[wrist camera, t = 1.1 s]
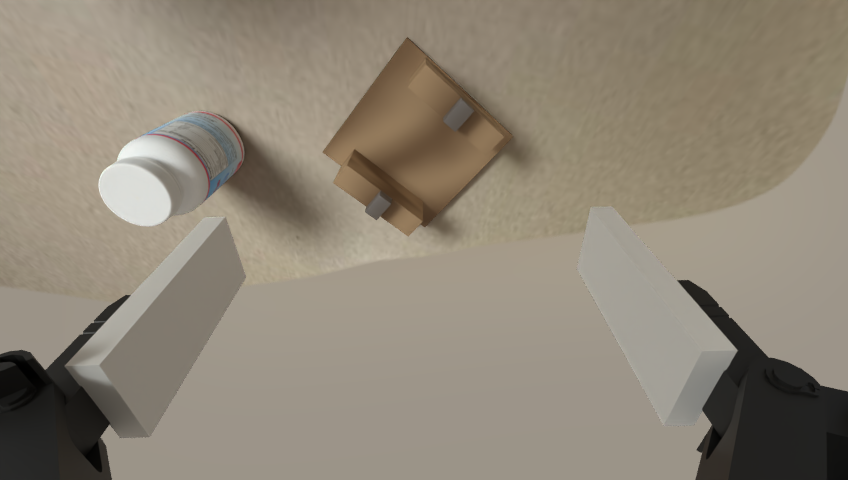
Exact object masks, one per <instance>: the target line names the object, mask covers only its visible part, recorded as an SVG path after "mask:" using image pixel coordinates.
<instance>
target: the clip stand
mask: <svg viewBox="0 0 848 480" xmlns="http://www.w3.org/2000/svg"><path fill="white" fill-rule="evenodd" d="M512 138H513V136H512V134H510V133H509V132H508V131H507V130H506V129H505V128H504V127H503V126H502V125H501V124H500V123H499V122H498V121H497V120H495V119H494V118H493V117H492V116H491V115H490V114H489V113H488V112H487V111H486V110H485V109H484V108H483V107H481V106H480V105H479V104H478V103H477V102H476V101H475V100H474V99H473V98H472V97H471V96H470V95H469V94H468V93H466V92H465V91H464V90H463V89H462V88H461V87H460V86H459V85H458V84H457V83H456V82H455V81H454V80H453V79H451V78H450V77H449V76H448V75H447V74H446V73H445V72H444V71H443V70H442V69H441V68H440V67H439V66H437V65H436V64H435V63H434V62H433V61H432V60H431V59H430V58H429V57H428V56H427V55H426V54H425V53H424V52H422V51H421V50H420V49H419V48H418V47H417V46H416V45H415V44H414V43H413V42H412V41H411V40H410V39H409V38H406V39H405V41H404V42H403V43H402V45H401V46H400V47H399V49H398V50H397V52H396V53H395V54H394V56H393V57H392V58H391V60H390V61H389V62H388V64H387V65H386V66H385V68H384V69H383V71H382V72H381V73H380V75H379V76H378V77H377V79H376V80H375V81H374V83H373V84H372V86H371V87H370V88H369V90H368V91H367V92H366V94H365V95H364V96H363V98H362V99H361V100H360V102H359V103H358V105H357V106H356V107H355V109H354V110H353V111H352V113H351V114H350V115H349V117H348V118H347V120H346V121H345V122H344V124H343V125H342V126H341V128H340V129H339V130H338V132H337V133H336V134H335V136H334V137H333V139H332V140H331V141H330V143H329V144H328V145H327V147H326V148H325V149H324V151H323V153H324V154H326V155H327V156H328V157H330V158H331V159H332V160H334V161H335V162H337V163H338V164H339V165H341V168H340V170H339V172H338V174H337V176H336V178H335V180H334V182H333V183H334V184H336V185H337V186H338V187H340V188H341V189H343V190H344V191H345V192H347V193H348V194H350V195H351V196H352V197H354V198H355V199H357V200H358V201H359V202H361V203H362V204H364V205H365V206H366V211H365V212H366V213H367V214H369V215H370V216H371V217H373V218H374V219H376V220H377V219H378V218H379V217H382V218H383V219H385V220H386V221H387V222H389V223H390V224H392V225H393V226H395V227H396V228H397V229H399V230H400V231H402V232H403V233H404V234H406V235H407V236H409V235H410V234H411V233H412V232H413V231H414V230H415V229H416V228H417V227H418V226H419V225H420V224H421V225H422V226H423V227H426V226H427V225H428V224H429V222H430V221H431V220H432V219H433V218H434V217H435V216H436V215H437V214H438V213H439V212H440V211H441V210H442V209H443V208H444V207H445V206H446V205H447V204H448V203H449V202H450V201H451V200H452V199H453V198H454V197H455V196H456V195H457V194H458V193H459V192H460V191H461V190H462V189H463V188H464V187H465V186H466V185H467V184H468V183H469V182H470V181H471V180H472V179H473V177H474V176H475V175H476V174H477V173H478V172H479V171H480V170H481V169H482V168H483V167H484V166H485V165H486V164H487V163H488V162H489V161H490V160H491V159H492V158H493V157H494V156H495V155H496V154H497V153H498V152H499V151H500V150H501V149H502V148H503V147H504V146H505V145H506V144H507V143H508V142H509V141H510V140H511V139H512Z"/></svg>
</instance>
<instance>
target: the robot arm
mask: <svg viewBox="0 0 848 480" xmlns="http://www.w3.org/2000/svg"><path fill="white" fill-rule="evenodd" d="M577 270H578V272H579V274H580V276H581V278H582V279H583V281H584V283H585V285H586V287H587V288H588V290H589V292H590V294H591V296H592V297H593V299H594V301H595V303H596V305H597V306H598V308H599V310H600V312H601V314H602V315H603V317H604V319H605V321H606V323H607V325H608V326H609V328H610V330H611V332H612V334H613V335H614V337H615V339H616V341H617V343H618V344H619V346H620V348H621V350H622V352H623V354H624V355H625V357H626V359H627V361H628V362H629V364H630V366H631V368H632V370H633V372H634V373H635V375H636V377H637V379H638V381H639V382H640V384H641V386H642V388H643V389H644V392H645V393H646V395H647V397H648V399H649V401H650V402H651V404H652V406H653V407H654V410H655V411H656V413H657V415H658V417H659V418H660V420H661V422H662V424H663V426H688V425H689V426H691V425H695V423H696V421H697V419H698V418H699V416H700V414H701V412H702V411H703V412H704V413H705V415H706V416H707V418H708V419H709V421H710V422H711V424H712V426H711V428H710V429H709V431H708V433H707V434H706V436H705V437H704V439H703V441H702V442H701V444H700V445H699V447H698V448H697V450H698V451H699V452H702V456H701V460H700V464H699V468H698V473H697V476H696V480H848V392H847V391H842V390H838V389H834V388H829V387H824V386H820V384H819V383H818V382H817V381H816V380H815V379H814V378H813V377H812V376H810V375H809V374H808V373H806V372H805V371H803V370H802V369H800V368H798V367H796V366H794V365H792V364H790V363H788V362H785V361H781V360H778V359H775V358H768V357H767V356H766V354H765V353H764V352H763V351H762V350H761V349H760V348H759V347H758V346H757V345H756V344H755V343H754V342H753V340H752V339H751V338H750V337H749V336H748V335H747V334H746V333H745V332H744V331H743V330H742V329H741V328H740V327H739V326H738V325H737V323H736V322H735V321H734V320H733V319H732V318H729V315H728V314H727V313H726V312H725V311H724V310H723V309H722V307H719V305H718V303H717V302H716V301H715V300H714V299H713V298H712V297H711V296H710V295H709V294H708V293H707V291H705V290H703V289H702V288H700V287H698V286H697V285H696V284H694V283H692V282H691V281H689V280H676V279H675V278H674V277H673V276H672V274H671V273H670V272H669V271H668V270H667V269H666V268H665V266H663V264H662V263H661V262H660V261H659V259H658V258H657V257H656V256H655V255H654V254H653V253H652V252H651V250H650V249H649V248H648V247H647V246H646V245H645V243H644V242H643V241H642V240H641V239H640V238H639V237H638V235H637V234H636V233H635V232H634V231H633V230H632V229H631V227H630V226H629V225H628V224H627V223H626V222H625V220H624V219H623V218H622V217H621V216H620V215H619V214H618V212H617V211H616V210H615V209H614V208H613V207H612V206H610V207H591V208H590V212H589V217H588V221H587V226H586V230H585V234H584V239H583V243H582V248H581V252H580V257H579V261H578V266H577ZM245 278H246V275H245V272H244V269H243V266H242V263H241V261H240V258H239V255H238V252H237V249H236V246H235V243H234V240H233V237H232V234H231V231H230V228H229V225H228V222H227V220H226V217H204V218H203V219H202V220H201V221H200V222H199V223H198V225H197V226H196V227H195V228H194V229H193V230H192V231H191V232H190V233H189V234H188V235H187V236H186V237H185V238H184V239H183V240H182V242H181V243H180V244H179V245H178V246H177V247H176V248H175V249H174V250H173V251H172V252H171V253H170V254H169V255H168V256H167V257H166V259H165V260H164V261H163V262H162V263H161V264H160V265H159V266H158V267H157V268H156V269H155V270H154V271H153V272H152V273H151V275H150V276H149V277H148V278H147V279H146V280H145V281H144V282H143V283H142V284H141V285H140V286H139V287H138V288H137V289H136V290H135V292H134V293H133V294H132V295H125V296H124V297H122V298H120V299H119V300H117V301H116V302H114V303H113V304H111V305H110V306H108V307H107V308H106V309H105V310H104V311H103V312H102V313H101V314H100V315H99V316H98V317H97V318H96V319H95V320H94V323H91V324H90V325H89V326H88V327H87V328H86V329H85V330H84V331H83V335H79V336H78V337H77V338H76V339H75V340H74V342H73V343H72V344H71V345H70V346H69V347H68V348H67V349H66V350H65V351H64V352H63V353H62V354H61V355H60V356H59V357H58V358H57V359H56V360H55V361H54V362H53V363H52V364H51V365H50V366H49V367H48V368H47V369H46V370H44V369H43V367H42V366H41V365H40V364H39V363H38V361H37V360H36V359H35V358H34V356H33V355H32V354H31V353H30V352H27V351H23V350H19V351H10V352H6V353H3V354H0V480H112V478H111V472H110V467H109V461H108V455H107V449H106V445H105V444H104V442H103V440H102V439H101V438H100V437H101V435H102V434H103V432H104V431H105V430H106V428H107V427H108V425H109V424H110V425H111V427H112V428H113V429H114V431H115V432H116V433H117V434H118V436H119V437H120V438H129V437H130V438H132V437H133V438H135V437H150V436H151V434H152V433H153V431H154V429H155V428H156V426H157V424H158V423H159V421H160V419H161V418H162V416H163V414H164V412H165V411H166V409H167V408H168V406H169V404H170V403H171V401H172V399H173V398H174V396H175V394H176V393H177V391H178V389H179V388H180V386H181V384H182V383H183V381H184V379H185V378H186V376H187V374H188V373H189V371H190V369H191V368H192V366H193V364H194V363H195V361H196V360H197V358H198V356H199V355H200V353H201V351H202V350H203V348H204V346H205V345H206V343H207V341H208V340H209V338H210V336H211V335H212V333H213V331H214V329H215V328H216V326H217V325H218V323H219V321H220V320H221V318H222V316H223V315H224V313H225V311H226V310H227V308H228V306H229V305H230V303H231V301H232V300H233V298H234V296H235V294H236V293H237V291H238V290H239V288H240V286H241V285H242V283H243V282H244V280H245Z"/></svg>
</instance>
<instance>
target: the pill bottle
mask: <svg viewBox="0 0 848 480" xmlns="http://www.w3.org/2000/svg"><path fill="white" fill-rule="evenodd" d="M244 155H245V151H244V146H243V142H242V140H241V138H240V136H239V134H238V133H237V131H236V130H235V129H234V127H233V126H232V125H231V124H230V123H229V122H228V121H226V120H225V119H224V118H222V117H221V116H219V115H217V114H214V113H211V112H207V111H193V112H189V113H187V114H184V115H182V116H180V117H178V118H176V119H174V120H172V121H170V122H168V123H166V124H164V125H162V126H160V127H158V128H156V129H154V130H152V131H150V132H148V133H146V134H144V135H142V136H140V137H138V138H136V139H134V140H132V141H131V142H129V143H128V144H126V145H125V146H124V147H123V149H122V150H121V152H120V153H119V156H118V159H117V161H116V162H115V163H114V164H112V165H110V166H109V167H107V168H106V169H105V170H104V171H103V172H102V174H101V176H100V178H99V191H100V194H101V197H102V199H103V201H104V202H105V204H106V205H107V206H108V207H109V209H110V210H111V211H112V212H114V213H115V214H116V215H117V216H119V217H120V218H122V219H124V220H125V221H127V222H130V223H132V224H135V225H139V226H156V225H159V224H161V223H163V222H165V221H166V220H168V219H169V218H170V217H172V216H173V215H182V214H186V213H189V212H191V211H193V210H194V209H196V208H197V207H198V206H200V205H201V204H202V203H203V202H204V201H205V200H206V199H207V198H209V197H210V196H211V195H212V194H213V193H214V192H215V191H216V190H217V189H218V188H219V187H220V186H222V185H223V184H224V183H225V182H226V181H227V180H228V179H229V178H230V177H231V176H232V175H233V174H234V173H235V172H236V171H237V170H238V169H239V168H240V167H241V165H242V163H243V160H244Z"/></svg>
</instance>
